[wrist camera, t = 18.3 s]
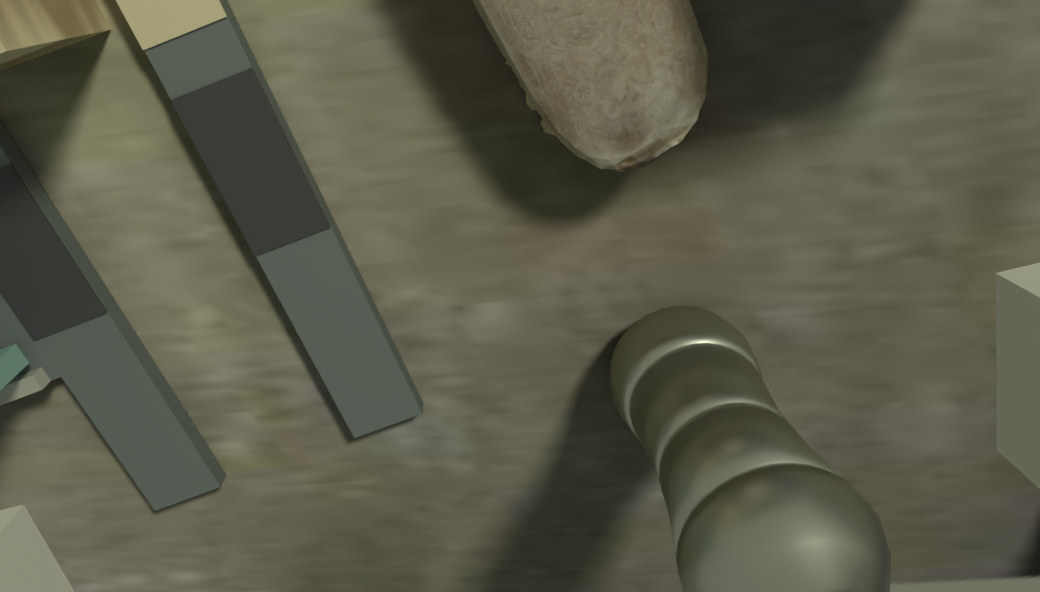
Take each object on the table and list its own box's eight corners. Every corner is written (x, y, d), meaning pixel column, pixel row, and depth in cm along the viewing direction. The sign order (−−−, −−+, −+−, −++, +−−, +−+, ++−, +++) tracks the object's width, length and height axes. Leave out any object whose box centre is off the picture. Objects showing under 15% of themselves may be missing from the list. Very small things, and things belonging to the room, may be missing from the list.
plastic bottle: (736, 399, 40) (981, 772, 22) (603, 418, 40) (738, 811, 21) (735, 281, 37) (1013, 591, 19) (594, 301, 37) (737, 633, 19)
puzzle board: (423, 402, 38) (422, 422, 37) (-62, 579, 40) (-85, 606, 38) (123, -211, 28) (103, -222, 26) (-519, 63, 30) (-576, 70, 28)
